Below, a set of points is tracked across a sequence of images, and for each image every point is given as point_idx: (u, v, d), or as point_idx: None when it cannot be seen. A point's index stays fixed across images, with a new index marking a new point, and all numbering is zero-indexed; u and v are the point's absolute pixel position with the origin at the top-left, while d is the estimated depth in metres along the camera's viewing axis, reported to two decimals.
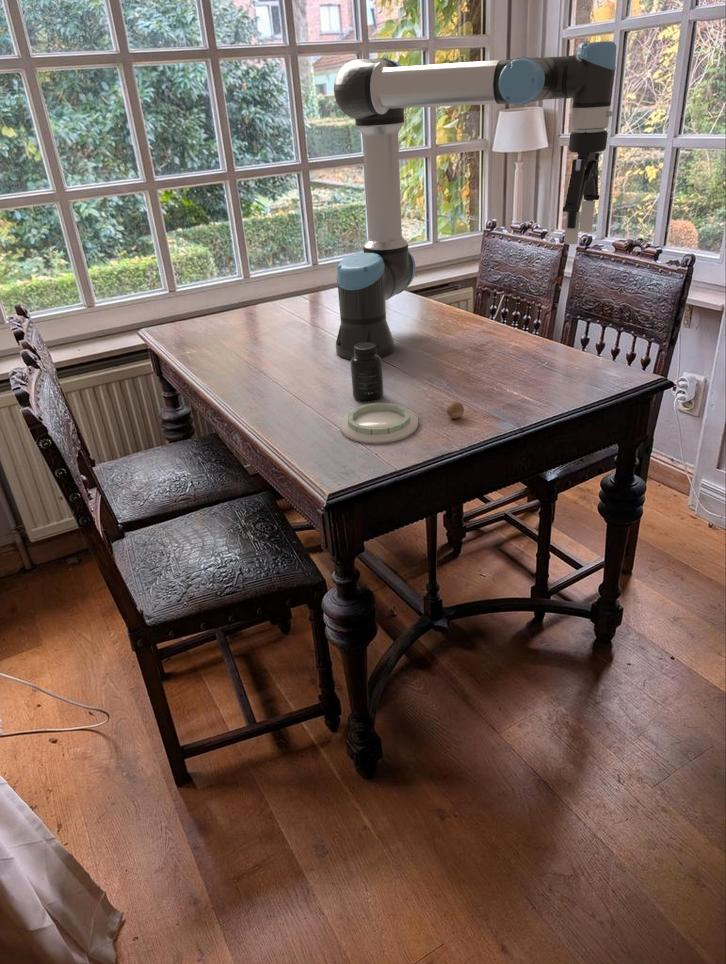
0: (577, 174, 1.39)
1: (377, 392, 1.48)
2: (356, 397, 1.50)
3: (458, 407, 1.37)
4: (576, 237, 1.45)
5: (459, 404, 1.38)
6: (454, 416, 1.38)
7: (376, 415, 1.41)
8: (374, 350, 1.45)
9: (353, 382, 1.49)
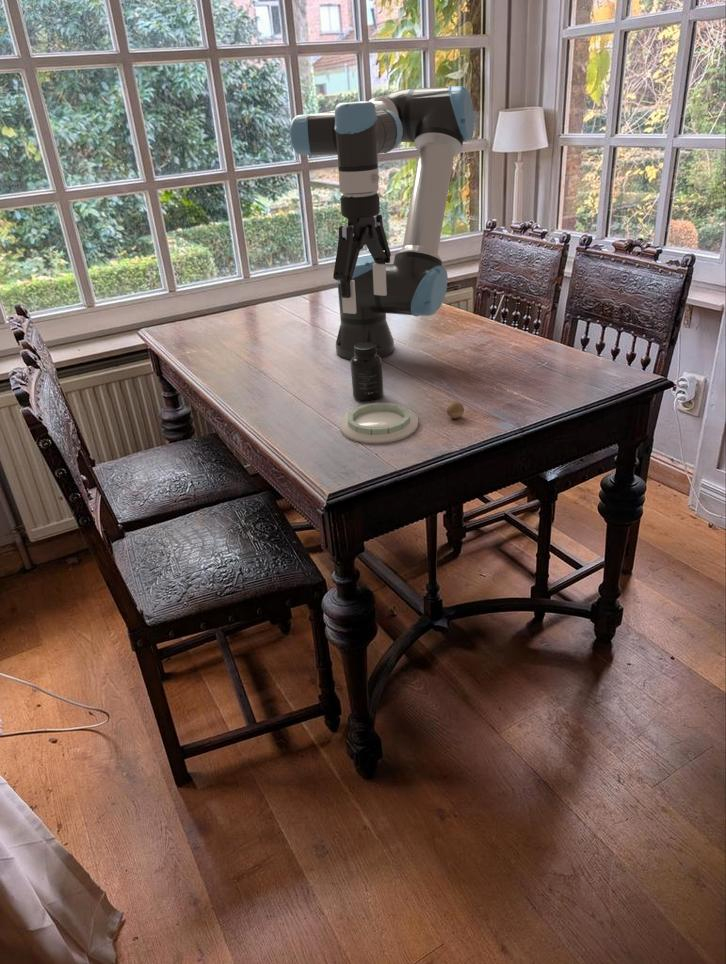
0: (344, 242, 1.29)
1: (377, 392, 1.48)
2: (356, 397, 1.50)
3: (458, 407, 1.37)
4: (353, 306, 1.35)
5: (459, 404, 1.38)
6: (454, 416, 1.38)
7: (376, 415, 1.41)
8: (374, 350, 1.45)
9: (353, 382, 1.49)
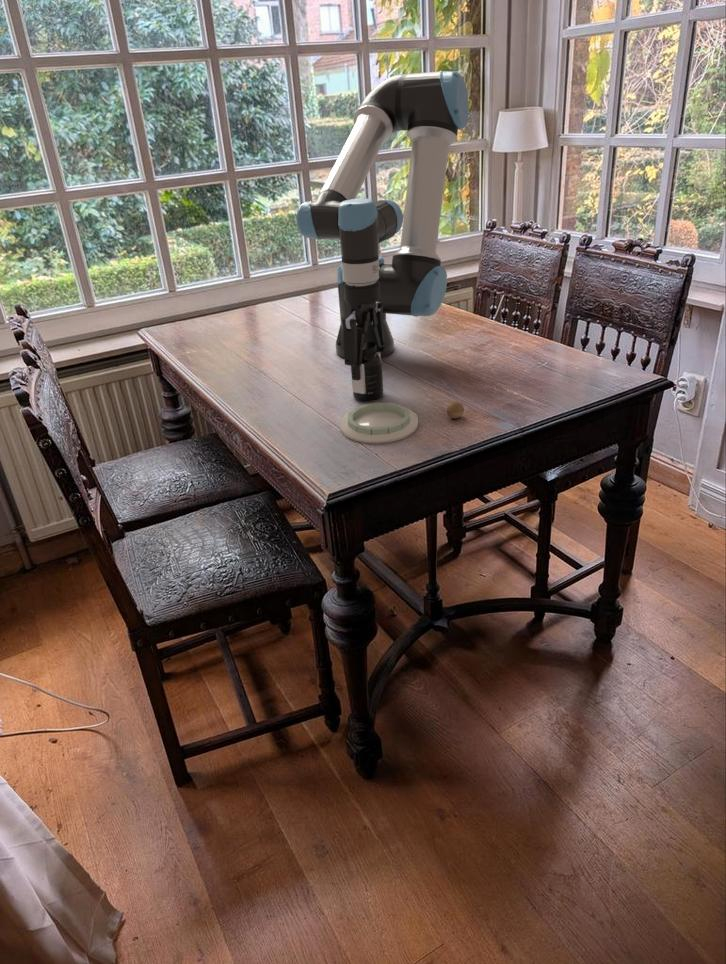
0: (349, 333, 1.39)
1: (377, 392, 1.48)
2: (356, 397, 1.50)
3: (458, 407, 1.37)
4: (362, 387, 1.46)
5: (459, 404, 1.38)
6: (454, 416, 1.38)
7: (376, 415, 1.41)
8: (374, 350, 1.45)
9: None
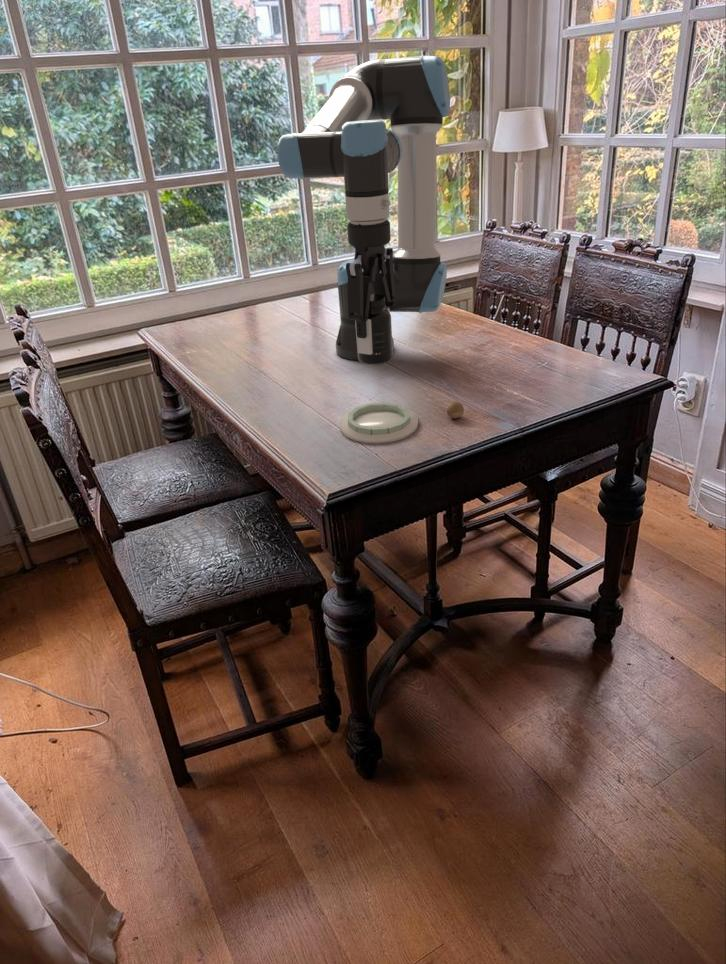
0: (354, 280, 1.18)
1: (385, 353, 1.28)
2: (361, 359, 1.30)
3: (458, 407, 1.37)
4: (369, 347, 1.26)
5: (459, 404, 1.38)
6: (454, 416, 1.38)
7: (376, 415, 1.41)
8: (382, 303, 1.25)
9: None
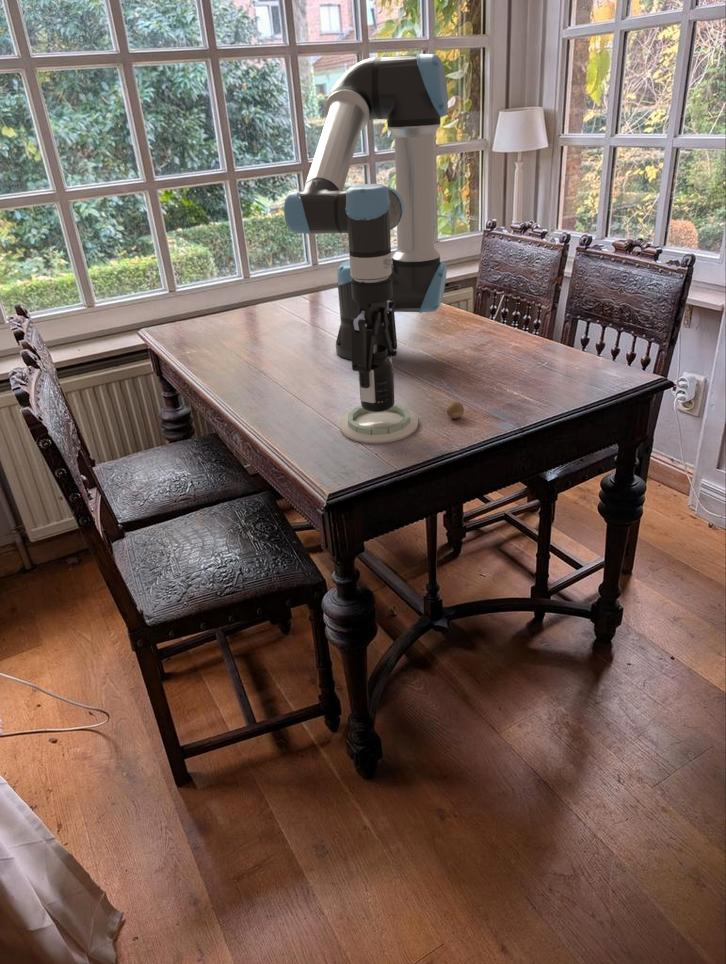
0: (358, 335, 1.23)
1: (387, 401, 1.33)
2: (364, 406, 1.35)
3: (458, 407, 1.37)
4: (372, 396, 1.31)
5: (459, 404, 1.38)
6: (454, 416, 1.38)
7: (376, 415, 1.41)
8: (385, 354, 1.30)
9: None
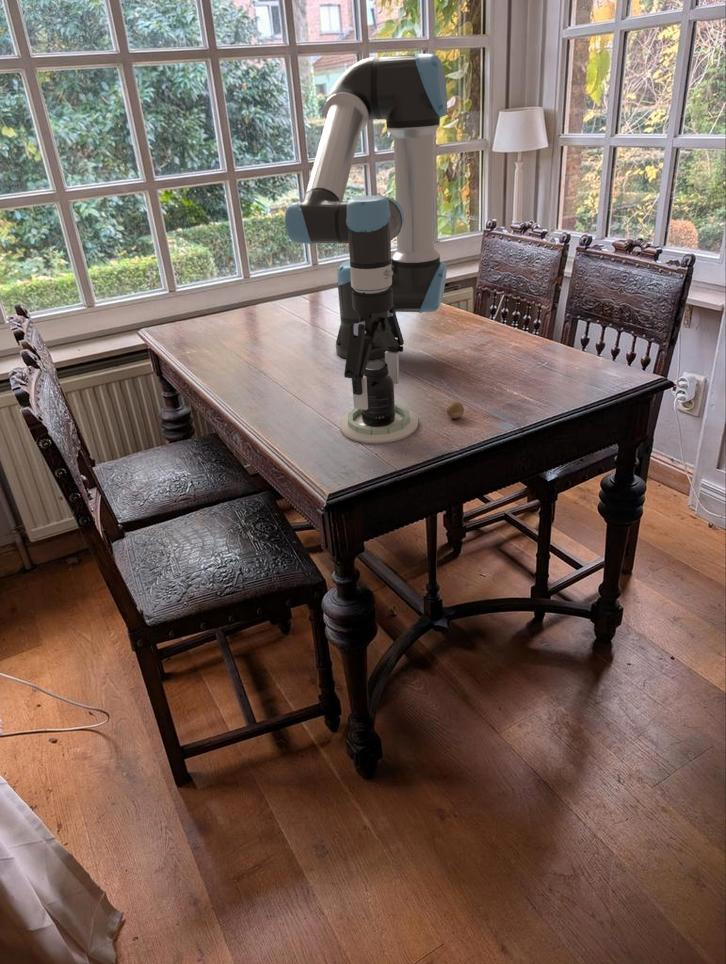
0: (356, 339, 1.23)
1: (388, 416, 1.35)
2: (365, 422, 1.36)
3: (458, 407, 1.37)
4: (364, 402, 1.29)
5: (459, 404, 1.38)
6: (454, 416, 1.38)
7: None
8: (385, 371, 1.32)
9: None
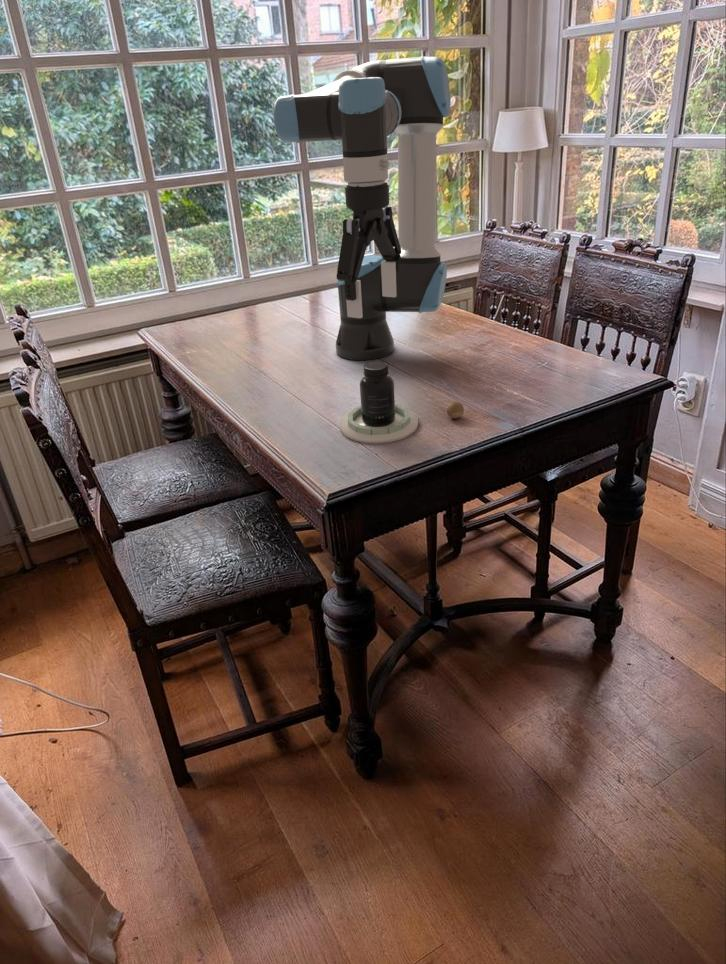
0: (349, 237, 1.14)
1: (388, 416, 1.35)
2: (365, 421, 1.36)
3: (458, 407, 1.37)
4: (359, 310, 1.20)
5: (459, 404, 1.38)
6: (454, 416, 1.38)
7: None
8: (386, 370, 1.32)
9: (362, 405, 1.35)
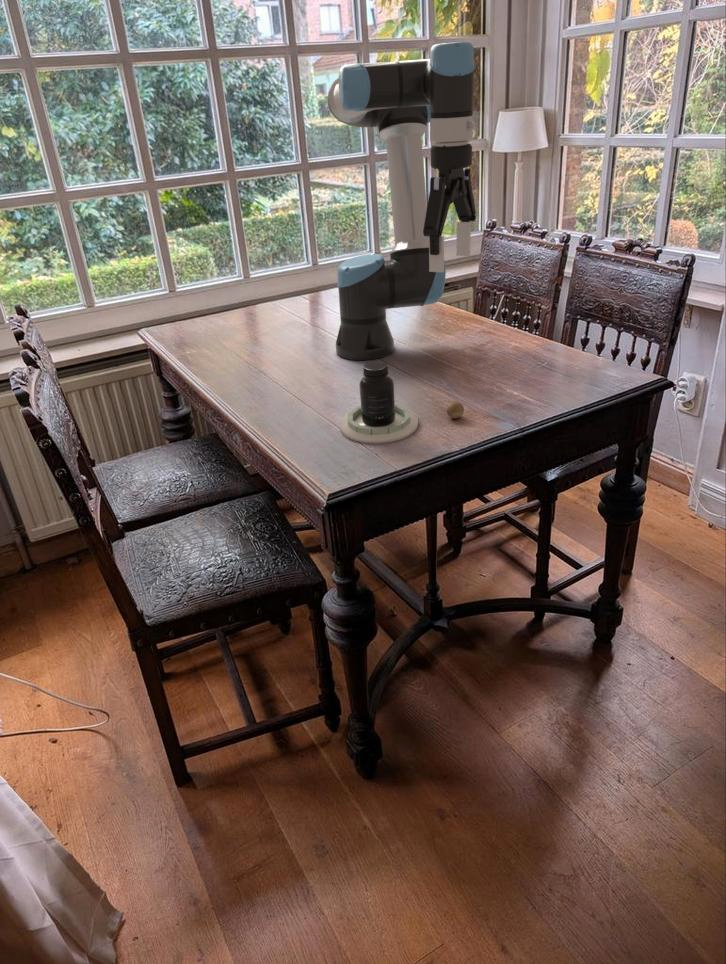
0: (436, 194, 1.22)
1: (388, 416, 1.35)
2: (365, 422, 1.36)
3: (458, 407, 1.37)
4: (441, 264, 1.28)
5: (459, 404, 1.38)
6: (454, 416, 1.38)
7: None
8: (385, 371, 1.32)
9: (362, 405, 1.35)
